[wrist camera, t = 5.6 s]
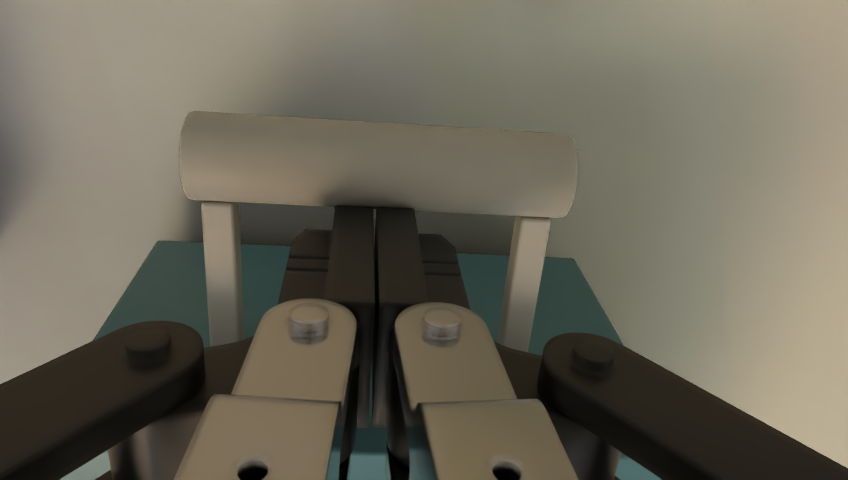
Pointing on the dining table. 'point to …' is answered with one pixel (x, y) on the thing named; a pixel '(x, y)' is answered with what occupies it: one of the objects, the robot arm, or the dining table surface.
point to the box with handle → (373, 187)
